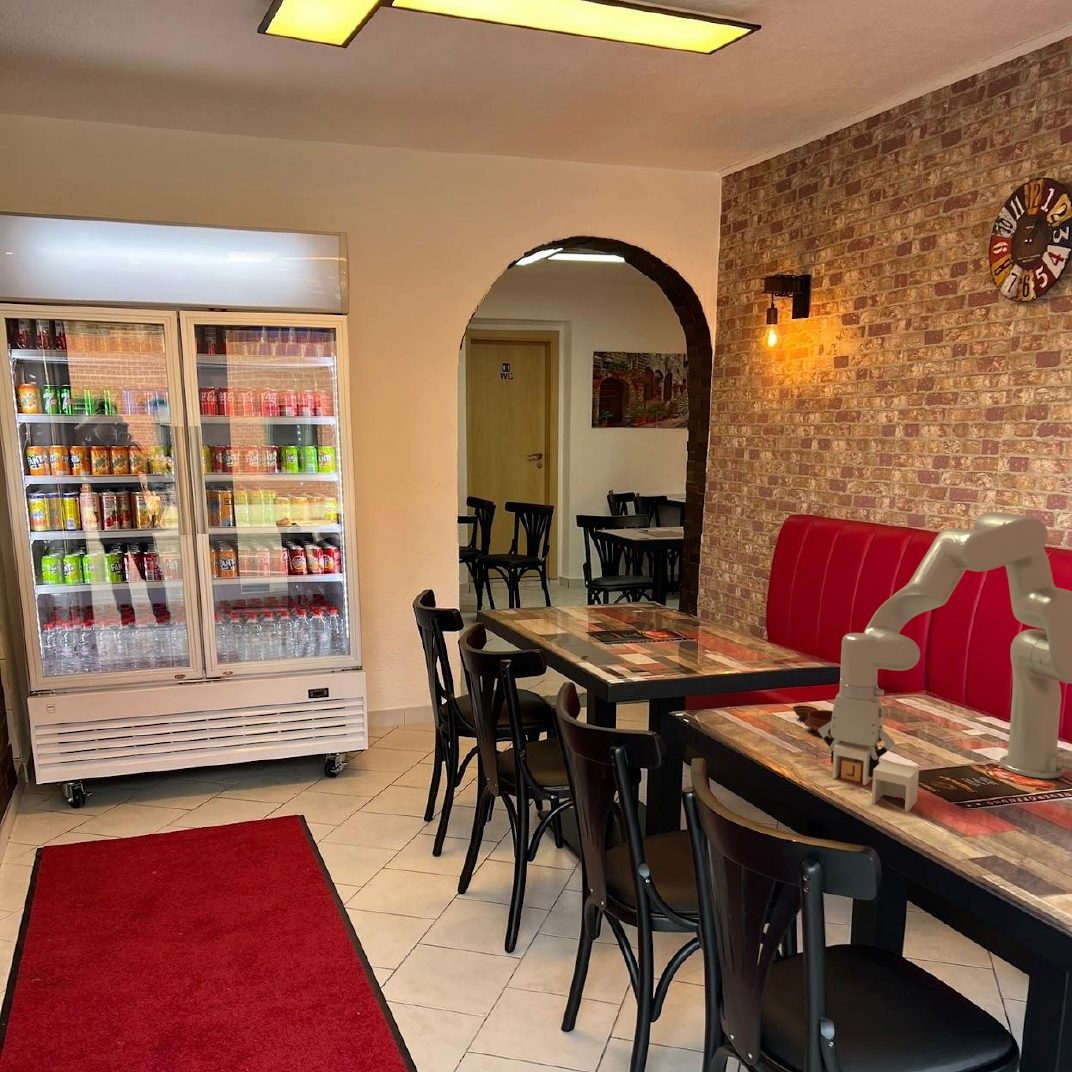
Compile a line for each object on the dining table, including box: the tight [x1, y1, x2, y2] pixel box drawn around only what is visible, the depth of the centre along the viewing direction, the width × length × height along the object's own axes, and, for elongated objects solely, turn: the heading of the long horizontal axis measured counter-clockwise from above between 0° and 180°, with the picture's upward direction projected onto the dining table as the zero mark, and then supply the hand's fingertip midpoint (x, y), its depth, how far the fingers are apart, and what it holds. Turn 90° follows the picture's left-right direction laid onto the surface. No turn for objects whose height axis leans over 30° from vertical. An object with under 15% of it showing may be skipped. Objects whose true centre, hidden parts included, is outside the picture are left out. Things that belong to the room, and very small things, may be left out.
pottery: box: [792, 704, 833, 736], centre depth 230 cm, size 12×20×4 cm, turn 14°
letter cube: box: [840, 757, 864, 783], centre depth 194 cm, size 4×4×4 cm
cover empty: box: [870, 759, 920, 813], centre depth 180 cm, size 7×7×7 cm
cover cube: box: [832, 741, 873, 786], centre depth 194 cm, size 7×7×7 cm
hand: (854, 770), depth 194 cm, fingers closed on cover cube, 7 cm apart
